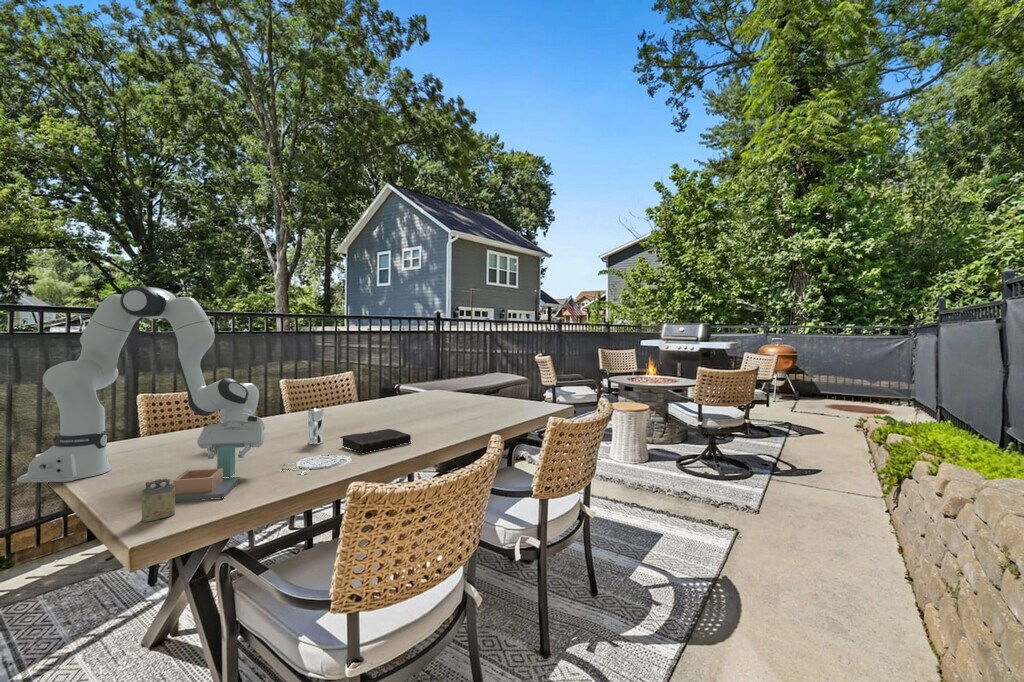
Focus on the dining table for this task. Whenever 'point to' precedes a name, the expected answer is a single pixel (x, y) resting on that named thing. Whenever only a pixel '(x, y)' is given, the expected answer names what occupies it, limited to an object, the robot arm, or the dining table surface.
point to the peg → (226, 460)
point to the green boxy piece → (158, 500)
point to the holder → (203, 485)
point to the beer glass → (315, 425)
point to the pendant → (320, 462)
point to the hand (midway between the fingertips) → (225, 457)
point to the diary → (375, 440)
